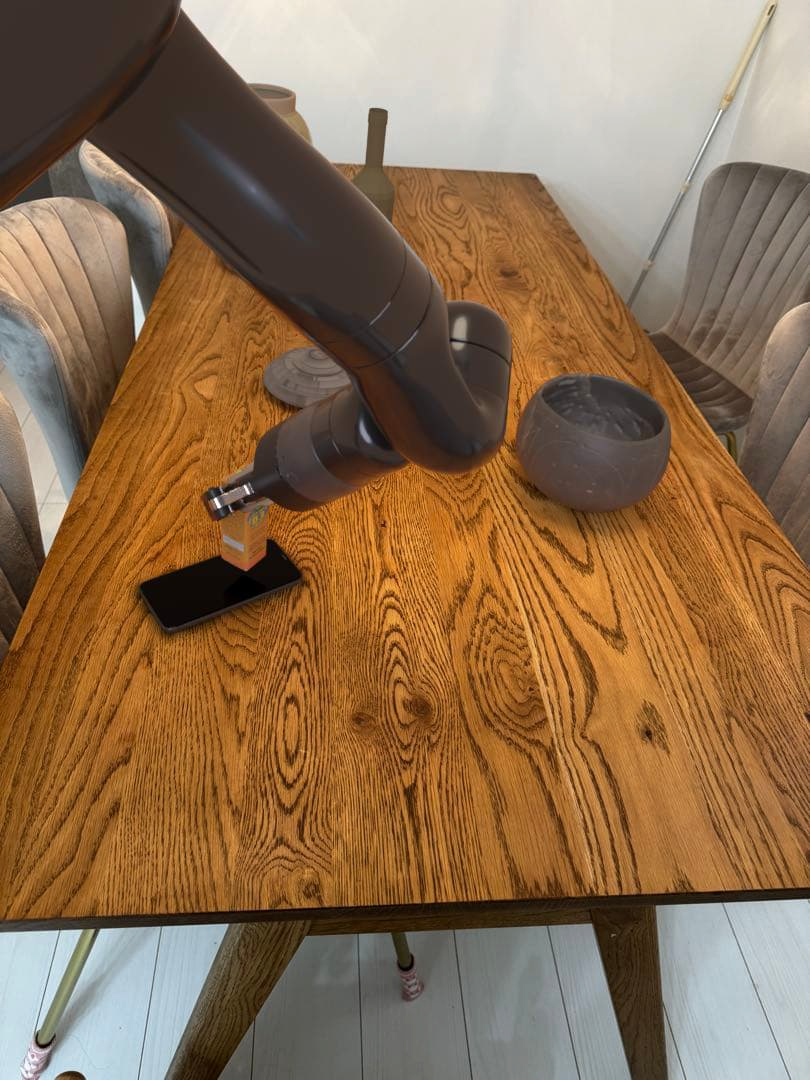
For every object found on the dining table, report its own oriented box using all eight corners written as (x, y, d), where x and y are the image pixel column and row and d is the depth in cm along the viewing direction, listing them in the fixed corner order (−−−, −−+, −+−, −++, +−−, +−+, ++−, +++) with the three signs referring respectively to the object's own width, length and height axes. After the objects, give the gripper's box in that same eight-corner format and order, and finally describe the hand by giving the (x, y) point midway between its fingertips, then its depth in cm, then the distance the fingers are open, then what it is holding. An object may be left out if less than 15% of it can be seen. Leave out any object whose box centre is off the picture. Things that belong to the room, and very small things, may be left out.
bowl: (535, 434, 110) (557, 349, 101) (664, 483, 104) (699, 397, 96) (481, 499, 97) (502, 409, 89) (625, 559, 92) (661, 468, 84)
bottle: (387, 310, 133) (409, 109, 113) (376, 328, 128) (396, 120, 108) (346, 301, 134) (361, 100, 114) (333, 319, 128) (346, 110, 109)
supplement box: (248, 574, 79) (246, 492, 72) (220, 559, 80) (216, 477, 73) (270, 556, 81) (270, 475, 74) (242, 541, 82) (241, 460, 76)
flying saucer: (391, 384, 115) (395, 349, 112) (336, 431, 104) (339, 394, 101) (301, 351, 119) (302, 316, 116) (240, 393, 109) (239, 356, 105)
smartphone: (166, 638, 75) (307, 583, 83) (165, 632, 75) (307, 577, 82) (135, 589, 80) (271, 540, 87) (134, 582, 79) (271, 534, 86)
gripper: (367, 384, 68) (274, 439, 81) (224, 439, 59) (147, 490, 73) (404, 467, 68) (306, 507, 82) (269, 533, 60) (184, 566, 74)
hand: (232, 499), depth 77 cm, fingers closed on supplement box, 4 cm apart
